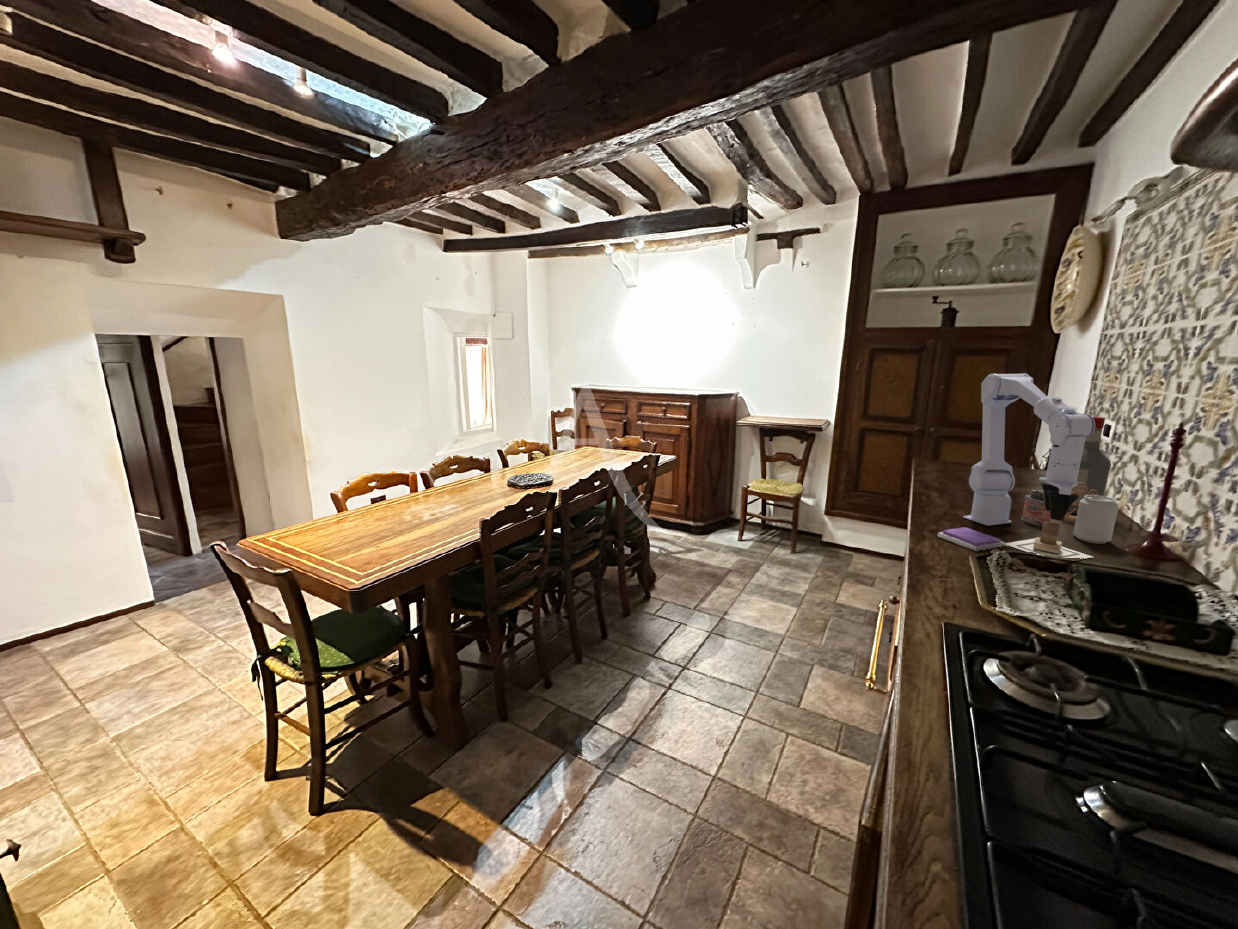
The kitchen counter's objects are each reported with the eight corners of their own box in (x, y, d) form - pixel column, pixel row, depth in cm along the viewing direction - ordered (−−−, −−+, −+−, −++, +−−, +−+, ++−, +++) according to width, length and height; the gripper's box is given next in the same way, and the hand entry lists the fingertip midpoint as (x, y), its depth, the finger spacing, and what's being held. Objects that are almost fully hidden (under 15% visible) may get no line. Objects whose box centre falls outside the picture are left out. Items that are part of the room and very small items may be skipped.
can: (1100, 536, 133) (1109, 494, 130) (1117, 546, 126) (1127, 502, 123) (1066, 533, 135) (1075, 492, 133) (1081, 543, 128) (1090, 500, 126)
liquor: (1072, 514, 151) (1092, 419, 144) (1051, 505, 159) (1068, 415, 153) (1105, 515, 149) (1126, 419, 143) (1082, 506, 158) (1101, 415, 151)
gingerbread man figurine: (1054, 519, 147) (1061, 481, 144) (1053, 516, 150) (1060, 478, 147) (1094, 525, 141) (1102, 486, 139) (1092, 521, 144) (1100, 483, 142)
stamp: (1034, 544, 127) (1039, 519, 125) (1060, 549, 123) (1065, 523, 122) (1032, 550, 123) (1037, 523, 122) (1058, 555, 120) (1064, 528, 118)
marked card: (1035, 539, 131) (1036, 537, 131) (1093, 558, 119) (1093, 556, 119) (1003, 545, 128) (1003, 543, 128) (1058, 564, 116) (1059, 562, 116)
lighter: (1017, 518, 148) (1023, 487, 145) (1027, 518, 148) (1033, 487, 146) (1042, 527, 140) (1048, 494, 138) (1053, 527, 140) (1059, 494, 138)
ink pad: (964, 532, 137) (965, 525, 136) (1004, 546, 127) (1005, 539, 126) (937, 536, 134) (938, 529, 134) (975, 551, 124) (976, 544, 123)
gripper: (1038, 455, 126) (1029, 505, 129) (1047, 466, 114) (1037, 520, 118) (1074, 458, 122) (1064, 509, 125) (1088, 470, 111) (1076, 525, 114)
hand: (1053, 515), depth 121 cm, fingers open, 7 cm apart
